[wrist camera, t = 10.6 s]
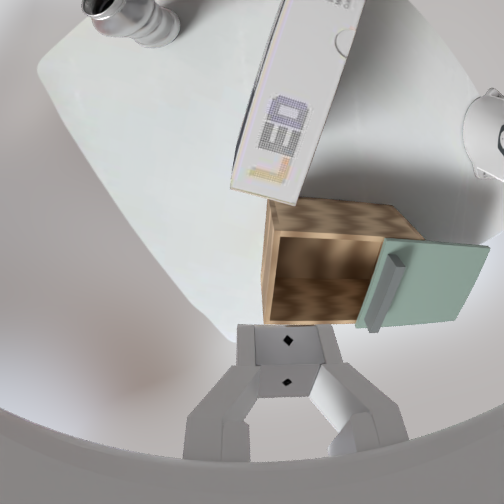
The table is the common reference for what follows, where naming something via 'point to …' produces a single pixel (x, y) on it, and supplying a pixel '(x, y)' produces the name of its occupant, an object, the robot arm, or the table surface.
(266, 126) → the packaging
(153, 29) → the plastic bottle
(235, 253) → the table surface
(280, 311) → the wooden box
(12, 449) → the robot arm
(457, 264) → the lid
